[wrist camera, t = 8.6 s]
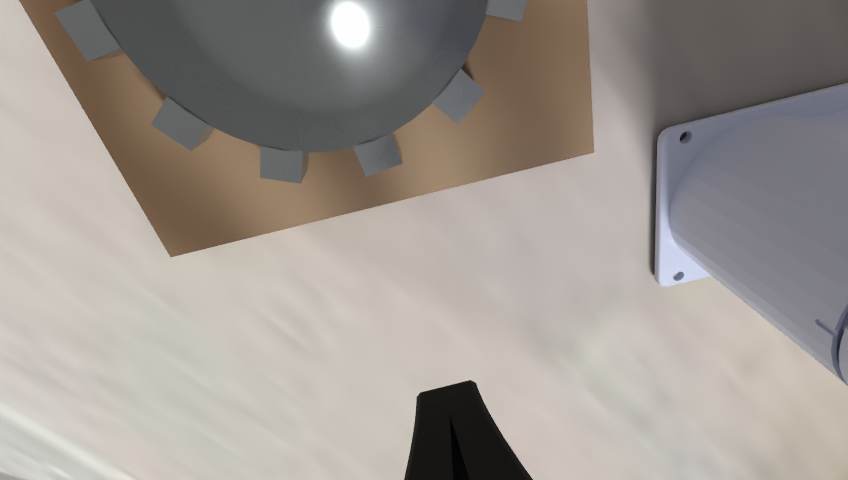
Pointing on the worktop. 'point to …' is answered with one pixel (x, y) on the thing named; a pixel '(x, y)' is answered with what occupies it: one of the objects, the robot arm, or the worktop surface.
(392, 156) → the sprocket
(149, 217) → the sprocket base
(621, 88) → the worktop surface
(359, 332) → the worktop surface
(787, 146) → the robot arm
